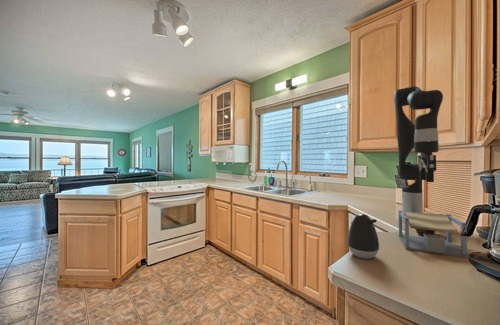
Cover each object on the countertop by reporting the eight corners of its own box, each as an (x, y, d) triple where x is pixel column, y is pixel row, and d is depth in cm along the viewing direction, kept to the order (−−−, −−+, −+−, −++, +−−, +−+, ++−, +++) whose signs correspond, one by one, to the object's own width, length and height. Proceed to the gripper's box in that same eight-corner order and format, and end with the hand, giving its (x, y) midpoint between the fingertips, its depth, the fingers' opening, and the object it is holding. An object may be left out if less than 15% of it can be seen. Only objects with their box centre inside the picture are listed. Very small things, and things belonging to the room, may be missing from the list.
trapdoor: (402, 217, 98) (402, 209, 97) (444, 221, 91) (445, 212, 90) (408, 234, 86) (409, 225, 85) (458, 240, 79) (459, 230, 78)
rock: (412, 236, 102) (440, 241, 95) (411, 219, 101) (439, 222, 94) (414, 227, 110) (440, 230, 104) (413, 211, 110) (439, 213, 103)
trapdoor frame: (398, 236, 99) (398, 210, 99) (449, 242, 91) (449, 213, 91) (405, 249, 83) (405, 218, 84) (468, 258, 75) (467, 223, 75)
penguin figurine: (366, 264, 71) (365, 218, 71) (341, 253, 80) (341, 212, 81) (386, 259, 75) (386, 215, 75) (360, 248, 84) (360, 210, 85)
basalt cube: (423, 233, 84) (427, 237, 80) (440, 235, 82) (444, 239, 77) (423, 246, 84) (427, 251, 80) (440, 248, 82) (445, 253, 77)
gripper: (410, 142, 94) (411, 179, 94) (419, 140, 82) (420, 182, 82) (432, 141, 91) (432, 179, 91) (444, 138, 78) (445, 183, 78)
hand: (426, 181), depth 86 cm, fingers open, 8 cm apart
